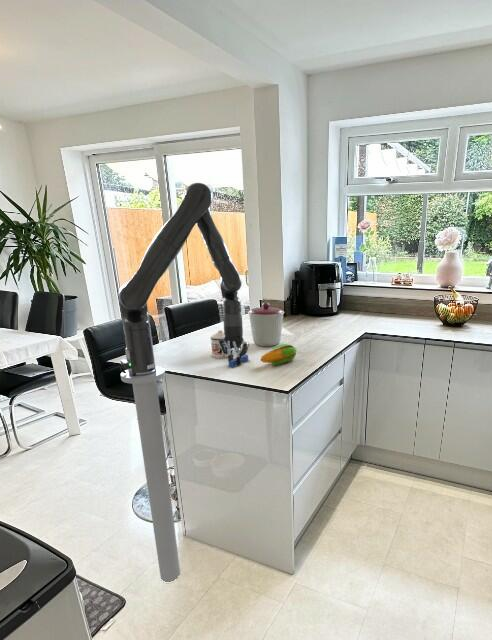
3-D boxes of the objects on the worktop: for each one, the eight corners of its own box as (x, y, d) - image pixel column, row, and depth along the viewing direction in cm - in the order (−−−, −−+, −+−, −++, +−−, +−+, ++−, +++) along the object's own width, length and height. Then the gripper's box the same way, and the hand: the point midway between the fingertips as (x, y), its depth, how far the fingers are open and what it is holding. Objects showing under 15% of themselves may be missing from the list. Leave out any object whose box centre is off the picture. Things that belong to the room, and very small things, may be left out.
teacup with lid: (207, 356, 180) (205, 330, 176) (222, 352, 187) (220, 327, 183) (226, 360, 174) (224, 334, 170) (240, 356, 181) (239, 330, 177)
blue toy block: (234, 367, 163) (234, 362, 163) (226, 366, 165) (226, 361, 164) (250, 360, 174) (249, 354, 173) (242, 359, 176) (242, 353, 175)
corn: (300, 342, 173) (267, 351, 159) (301, 359, 175) (268, 369, 161) (288, 341, 177) (254, 349, 163) (289, 357, 180) (256, 367, 166)
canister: (270, 350, 191) (269, 306, 184) (241, 345, 199) (239, 303, 192) (291, 343, 205) (291, 301, 198) (263, 338, 214) (262, 299, 207)
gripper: (213, 324, 161) (216, 364, 166) (243, 326, 156) (245, 368, 161) (223, 321, 167) (225, 360, 173) (252, 323, 162) (254, 364, 168)
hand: (235, 364), depth 167 cm, fingers open, 3 cm apart
